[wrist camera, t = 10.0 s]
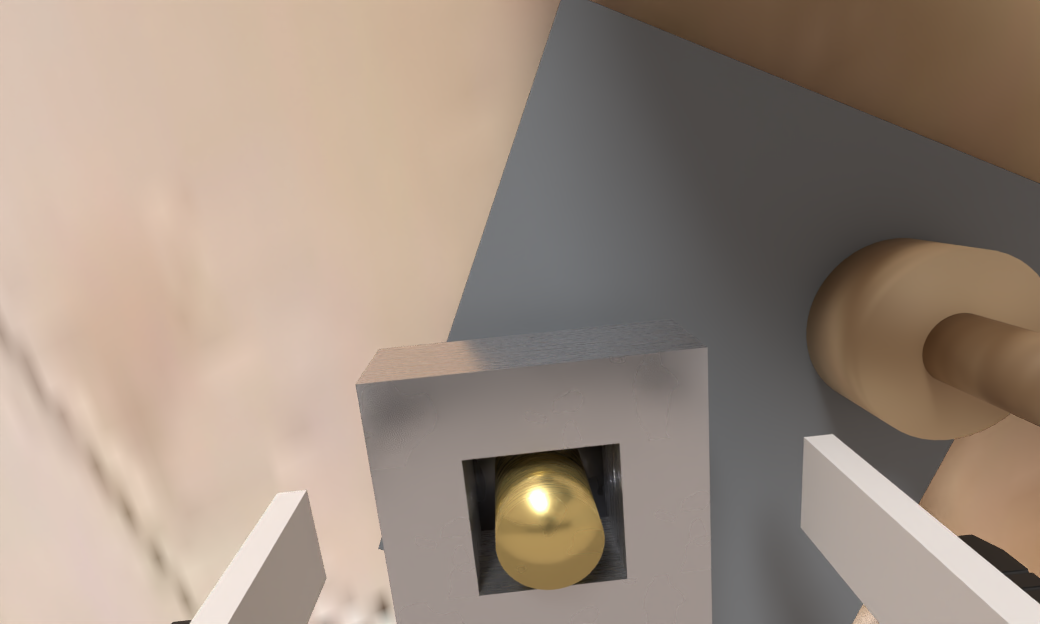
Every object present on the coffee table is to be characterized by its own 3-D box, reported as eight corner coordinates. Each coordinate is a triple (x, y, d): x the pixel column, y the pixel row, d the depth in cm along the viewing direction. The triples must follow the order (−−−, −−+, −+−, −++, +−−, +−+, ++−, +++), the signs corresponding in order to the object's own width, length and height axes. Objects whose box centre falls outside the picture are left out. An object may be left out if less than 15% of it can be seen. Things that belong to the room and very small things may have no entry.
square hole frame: (378, 349, 17) (355, 384, 14) (671, 318, 17) (707, 347, 14) (418, 600, 19) (405, 675, 16) (679, 570, 20) (712, 639, 17)
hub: (470, 317, 19) (461, 379, 13) (659, 379, 20) (728, 462, 14) (410, 494, 21) (378, 620, 15) (589, 544, 21) (626, 682, 16)
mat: (559, 2, 18) (564, -10, 17) (1052, 200, 20) (1085, 202, 19) (384, 529, 22) (378, 548, 21) (810, 645, 24) (827, 669, 23)
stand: (853, 213, 19) (1056, 234, 12) (1004, 270, 20) (1275, 320, 13) (778, 374, 20) (923, 474, 13) (922, 423, 21) (1130, 541, 14)
